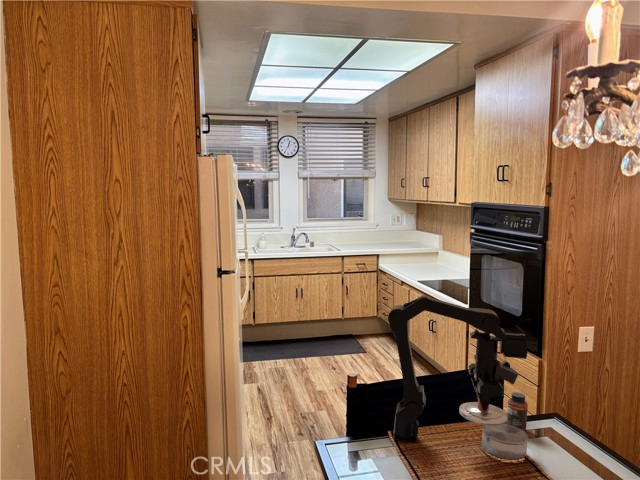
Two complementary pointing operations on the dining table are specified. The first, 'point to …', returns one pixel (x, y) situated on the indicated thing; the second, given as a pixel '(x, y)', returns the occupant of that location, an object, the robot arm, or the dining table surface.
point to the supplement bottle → (517, 411)
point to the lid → (483, 414)
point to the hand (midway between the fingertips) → (483, 408)
